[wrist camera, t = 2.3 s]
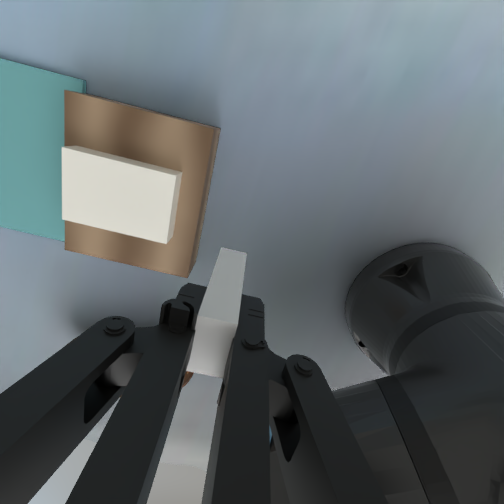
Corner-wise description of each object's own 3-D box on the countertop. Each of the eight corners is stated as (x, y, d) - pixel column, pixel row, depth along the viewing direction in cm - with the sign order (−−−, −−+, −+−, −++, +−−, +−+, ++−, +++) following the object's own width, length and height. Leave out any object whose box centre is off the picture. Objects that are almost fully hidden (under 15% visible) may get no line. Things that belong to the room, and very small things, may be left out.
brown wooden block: (220, 128, 28) (214, 128, 24) (195, 261, 33) (187, 278, 30) (91, 94, 27) (64, 89, 23) (87, 235, 33) (64, 249, 29)
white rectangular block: (182, 172, 26) (175, 175, 24) (172, 236, 28) (166, 244, 26) (76, 145, 25) (61, 147, 23) (75, 213, 27) (62, 219, 26)
